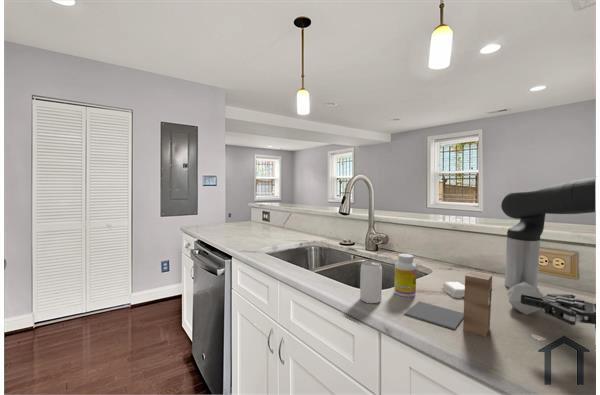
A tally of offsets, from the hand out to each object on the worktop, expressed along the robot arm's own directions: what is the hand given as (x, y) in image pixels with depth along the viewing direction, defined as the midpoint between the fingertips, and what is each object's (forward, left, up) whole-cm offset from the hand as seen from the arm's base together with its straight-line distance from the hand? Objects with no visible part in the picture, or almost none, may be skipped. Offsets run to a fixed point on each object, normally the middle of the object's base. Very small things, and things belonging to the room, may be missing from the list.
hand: (521, 297), depth 71 cm
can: (+1, -38, -11) cm, 39 cm away
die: (-21, -1, -11) cm, 24 cm away
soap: (-23, -19, -11) cm, 32 cm away
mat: (-2, -19, -11) cm, 22 cm away
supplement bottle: (-11, -32, -11) cm, 35 cm away
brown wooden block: (0, -9, -11) cm, 14 cm away
